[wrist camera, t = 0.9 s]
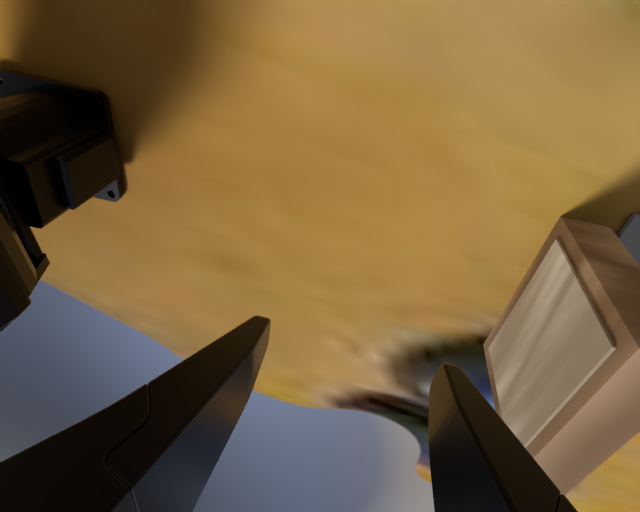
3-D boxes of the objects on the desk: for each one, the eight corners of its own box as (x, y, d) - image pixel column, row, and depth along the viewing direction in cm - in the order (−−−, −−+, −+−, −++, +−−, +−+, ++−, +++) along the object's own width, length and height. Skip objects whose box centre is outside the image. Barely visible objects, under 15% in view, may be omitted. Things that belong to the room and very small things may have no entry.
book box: (481, 343, 27) (506, 482, 19) (557, 214, 21) (634, 347, 13) (521, 353, 27) (561, 497, 19) (610, 226, 21) (715, 366, 13)
